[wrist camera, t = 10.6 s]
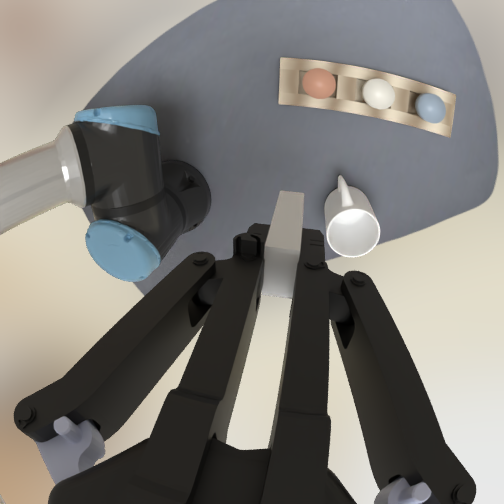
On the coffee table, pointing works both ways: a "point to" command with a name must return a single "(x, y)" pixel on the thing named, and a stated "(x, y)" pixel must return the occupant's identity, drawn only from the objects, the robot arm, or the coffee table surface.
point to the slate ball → (430, 107)
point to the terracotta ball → (319, 83)
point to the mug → (350, 221)
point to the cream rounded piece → (378, 93)
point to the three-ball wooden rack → (350, 93)
